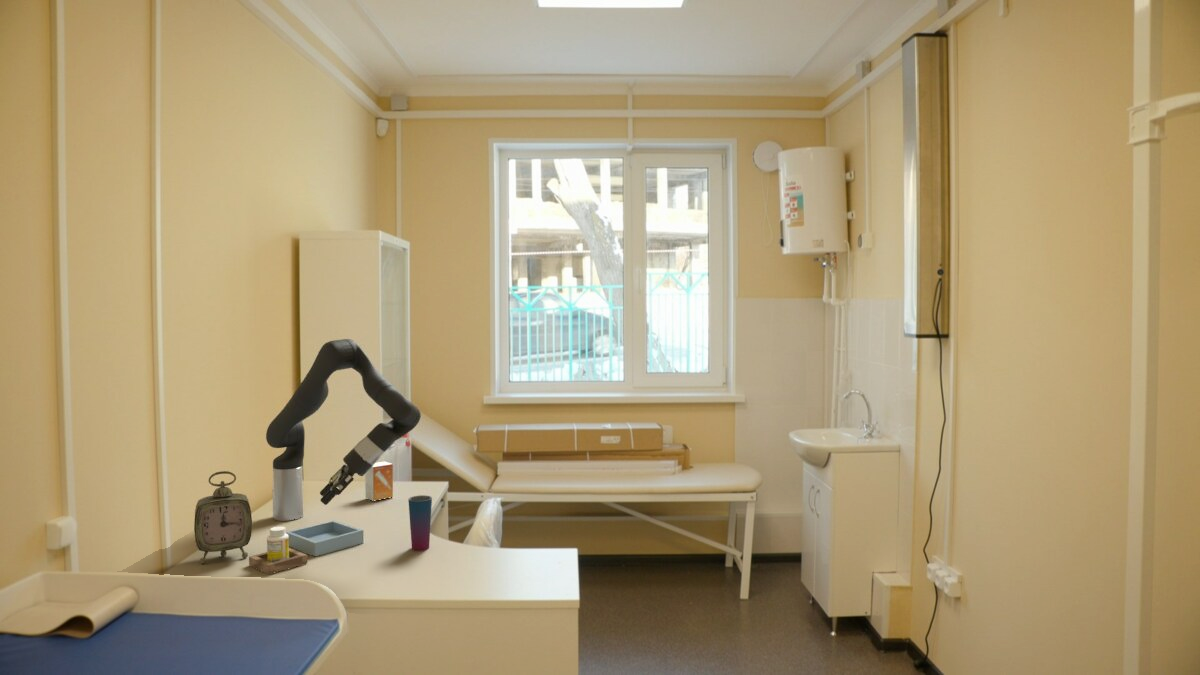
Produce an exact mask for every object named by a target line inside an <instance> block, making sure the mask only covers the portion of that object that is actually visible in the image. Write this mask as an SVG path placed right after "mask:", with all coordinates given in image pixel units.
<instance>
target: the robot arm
mask: <svg viewBox="0 0 1200 675" xmlns="http://www.w3.org/2000/svg"><path fill="white" fill-rule="evenodd" d="M346 369H348V370H349V369H353V370H355V371H356V372H358V374H359V375H360V377H361V381H362V386H363V389H364V392H365V393H366V395H367V396H368V397H369V398H370V399H372V401H373V402H374V403H376V405H377V406H379V407H381V409H382V410H384V412H385V413H386V414H387V415H388V416H389V417H390V418H391V419H392V420H390V421H389V422H388V423H387V422H386V423H383V422H380V423H378V424H377V425H376V426H374V428H373V429H371V431H369V433H368V434H367V435H366V436H365V437H363V438H362V439H361V440H360V441H358V442H357V444H356V445H355V446H354V447H353V448H352V449H351V450H350V451H349V452H348V453H347V454H346V455H345V456H344V457H343V458H342V460H343V462H344V464H343V465H342V466H341V467H340V468H339V469H338V470H337V471H336V472H335V473H334V474H333V475H332V476H331V477H330V478H329V481H328V483H327V484H326V485H325V486H324V487H323V488H322V489H321V490H320V491H319V494H320V495H321V498H320V502H321V503H322V504H323V505H324V506H326V505H328V504H329V503H330V502H331V501H332V500H333V499H334V498H335V497H336V496H340V495H341V494H342V492H343V491H344V490H345V489H346V488H347V487H348V486H349V485H350V484H351V483H352V482H353V481H354V479H355V478H354V476H355V475H356V474H357V475H358V476H360V477H363V476H365V473H366V472H367V471H368V470H369V469H370V468H371V467H372V466H373V465H374V464H375V463H378V462H379V460H380V459H381V458H382V456H383V455H384V454H385V453H386V452H387V450H388V449H389V448H390V447H391V446H392V445H393V444H394V443H395V442H396V441H397V440H399V439H401V438H402V437H404V436H405V435H407V434H408V433H409V432H411V431H412V430H413V429H414V428H416V426H417V425H418V424H419V422H420V420H421V414H422V413H421V411H420V409H419V407H417V406H416V405H415V404H414V403H413V402H412V401H410V400H409V399H408V398H407V397H406V396H405V395H403V394H402V393H401V392H399V390H398V388H396V387H395V386H394V385H393V384H392V383H391V382H390V381H389V380H387V378H386V377H384V376H383V374H381V373H380V371H379V370H378V369H377V367H376V366H375V365H374V364H373V362H372V360H371V359H370V358H369V357H368V354H366V352H365V351H364V350H363V349H362V347H361V346H360V345H359V344H358V343H357V342H356V341H355V340H354V339H351V338H344V339H335V340H334V339H333V340H330V341H327V342H325V343H324V344H323V345H322V346H321V347H320V349H319V351H318V352H317V355H316V357H315V359H314V362H313V364H312V366H311V367H310V369H309V371H308V372H307V373H306V375H305V377H304V378H303V379H302V381H301V382H300V384H299V385H298V387H297V388H296V389H295V391H294V393H293V395H292V396H291V398H290V399H289V400H288V402H287V403H286V404H285V406H284V407H283V409H282V410H280V412H279V413H278V414H277V415H276V416H275V418H274V419H273V420H271V422H270V423H269V425H268V427H267V430H266V434H265V439H266V442H267V444H268V445H269V447H271V448H273V449H274V448H275V449H282V448H285V450H284V451H283V452H282V453H281V454H279V455H277V456H276V457H275V458H274V459H273V461H272V483H273V484H272V488H273V489H272V516H273V519H274V520H275V521H282V522H283V521H284V522H285V521H294V519H295V520H298V519H301V518H302V517H303V516H304V489H303V484H304V483H303V482H304V481H303V476H304V475H303V461H304V458H305V438H306V437H305V435H306V434H305V433H306V432H305V426H304V423H303V421H304V420H306V419H307V418H309V417H310V416H312V415H314V414H315V413H316V412H318V410H319V409H320V408H321V407H322V406H323V404H324V403H325V401H326V400H327V398H328V396H329V384H328V382H327V381H328V380H329V379H330V377H331V375H333V373H335V372H337V371H342V370H346ZM300 517H301V518H300Z"/></svg>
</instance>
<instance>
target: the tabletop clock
mask: <svg viewBox="0 0 1200 675" xmlns="http://www.w3.org/2000/svg"><path fill="white" fill-rule="evenodd" d="M226 474H228V475H231V476H233V480H232V481H231V482H226V483H225V481H224V480H221V481H220V483H213V482H211V479H212V478H213V477H214V476H217V475H226ZM236 480H237V477H236V474H235V473H233V472H231V471H228V470H223V471H217V472H214V473H213V474H211V475H210V476H209V478H208V483H209V485H211V486H212V487H218V488H215V490H214V491H213V494H212V495H208V496H205V497H202V498H200V499H198V501H197V503H196V505H195V509H194V523H193V527H194V531H193V532H194V538H195V543H196V547H197V549H198V551H200V552H204V554H203V556H202V557H201V558H200V559H199V564H200V565H201V564H202V563H203V564H206V562H207V559H206V557H207V555H208V553H213V552H214V553H216V552H220V556H221V557H225V556H226V555H227V554H228V552H227V551H230V550H235V549H239V550H240V551H241V552H242V553H241V557H242V558H244V559H246V558H247V557H249V553H248V552H247V551H245V549H244V547H246V546H248V545H249V543H250V540H251V537H252V529H253V527H252V526H253V517H252V511H251V506H250V505H251V504H250V502H249V499H248V496H247V495H246V494H243V493H233V491H232V489H231V488H230V487H228V486H230V485H232V484H234V483H235V482H236Z"/></svg>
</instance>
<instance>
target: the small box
mask: <svg viewBox="0 0 1200 675" xmlns="http://www.w3.org/2000/svg"><path fill="white" fill-rule="evenodd" d="M393 471H394V465H393V463H391V462H388V461H377V462H376V463H375V464H374V465H373V466H372V467H371V468H370V469H369V470H368V471H367V472H366V473H365V474H364V477H365V478H364V480H365V482H364V483H365V485H364V486H365V487H364V488H365V493H364V496H365V497H366V498H368V499H370V500H373V501H374V500H379V499H384V498H389V497H393V498H394V495H393V494H394V472H393ZM365 497H364V498H365ZM370 500H369V501H370Z"/></svg>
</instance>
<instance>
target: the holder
mask: <svg viewBox="0 0 1200 675" xmlns="http://www.w3.org/2000/svg"><path fill="white" fill-rule="evenodd" d="M306 563H307V564H308V554H307V553H304V552H301V551H299V550H296V549H294V548H291V547H289V558H287V559H284V560H280V561H276V562H273V563H271V562H269V561H268V558H267V551H264V552H261V553H258V554H257V553H256V554H253V555H250V556H248V564H249V565H250V566H249V565H248V566H249V567H251V566H252V567H251V568H253V567H255V568H254V569H256V568H257V569H256V570H258V569H259V570H258V571H260V570H262V571H263V573H265V574H267V573H268V575H269V574H270V575H272V574H271V573H273V574H275V573H274V572H277V571H280V572H282V571H281V570H284V571H286V570H285V569H287V570H289V569H288V568H291V567H294V568H296V567H295V566H298V567H300V566H299V565H301V566H303V565H302V564H305V565H307V564H306ZM291 569H292V568H291ZM262 571H261V572H262ZM277 573H278V572H277Z"/></svg>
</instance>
